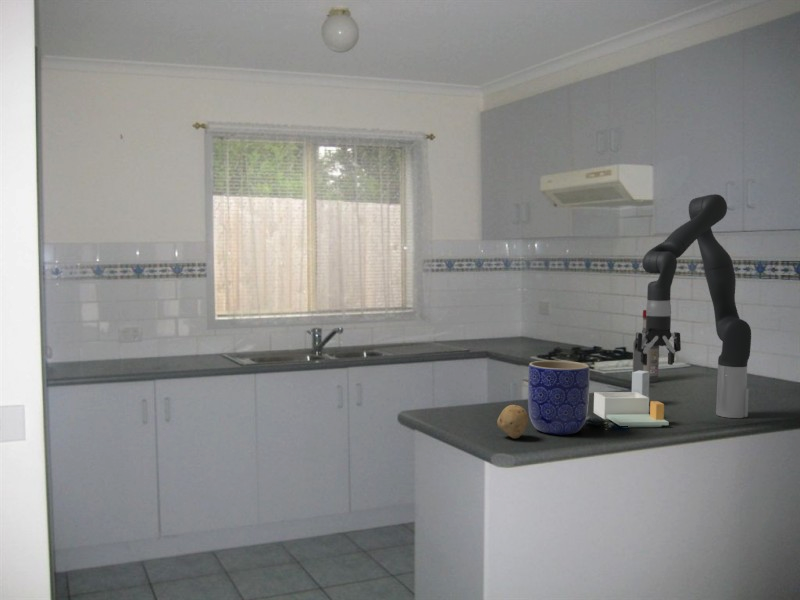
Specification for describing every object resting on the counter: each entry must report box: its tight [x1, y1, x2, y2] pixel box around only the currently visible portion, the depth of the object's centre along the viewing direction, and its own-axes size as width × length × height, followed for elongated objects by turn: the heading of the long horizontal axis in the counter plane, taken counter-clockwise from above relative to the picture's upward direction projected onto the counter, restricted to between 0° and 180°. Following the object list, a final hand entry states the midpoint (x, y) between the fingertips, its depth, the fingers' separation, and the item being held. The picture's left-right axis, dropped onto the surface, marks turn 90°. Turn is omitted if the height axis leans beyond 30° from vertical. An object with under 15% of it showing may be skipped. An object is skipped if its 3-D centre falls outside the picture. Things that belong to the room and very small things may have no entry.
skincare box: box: [631, 370, 650, 399], centre depth 305 cm, size 6×4×12 cm
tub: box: [593, 391, 650, 420], centre depth 285 cm, size 15×11×7 cm
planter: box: [527, 359, 591, 436], centre depth 260 cm, size 18×18×21 cm
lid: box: [607, 400, 670, 428], centre depth 272 cm, size 16×12×7 cm
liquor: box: [632, 309, 660, 384], centre depth 357 cm, size 9×9×30 cm
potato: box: [496, 404, 529, 439], centre depth 250 cm, size 9×9×10 cm
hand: (657, 364), depth 271 cm, fingers open, 8 cm apart
